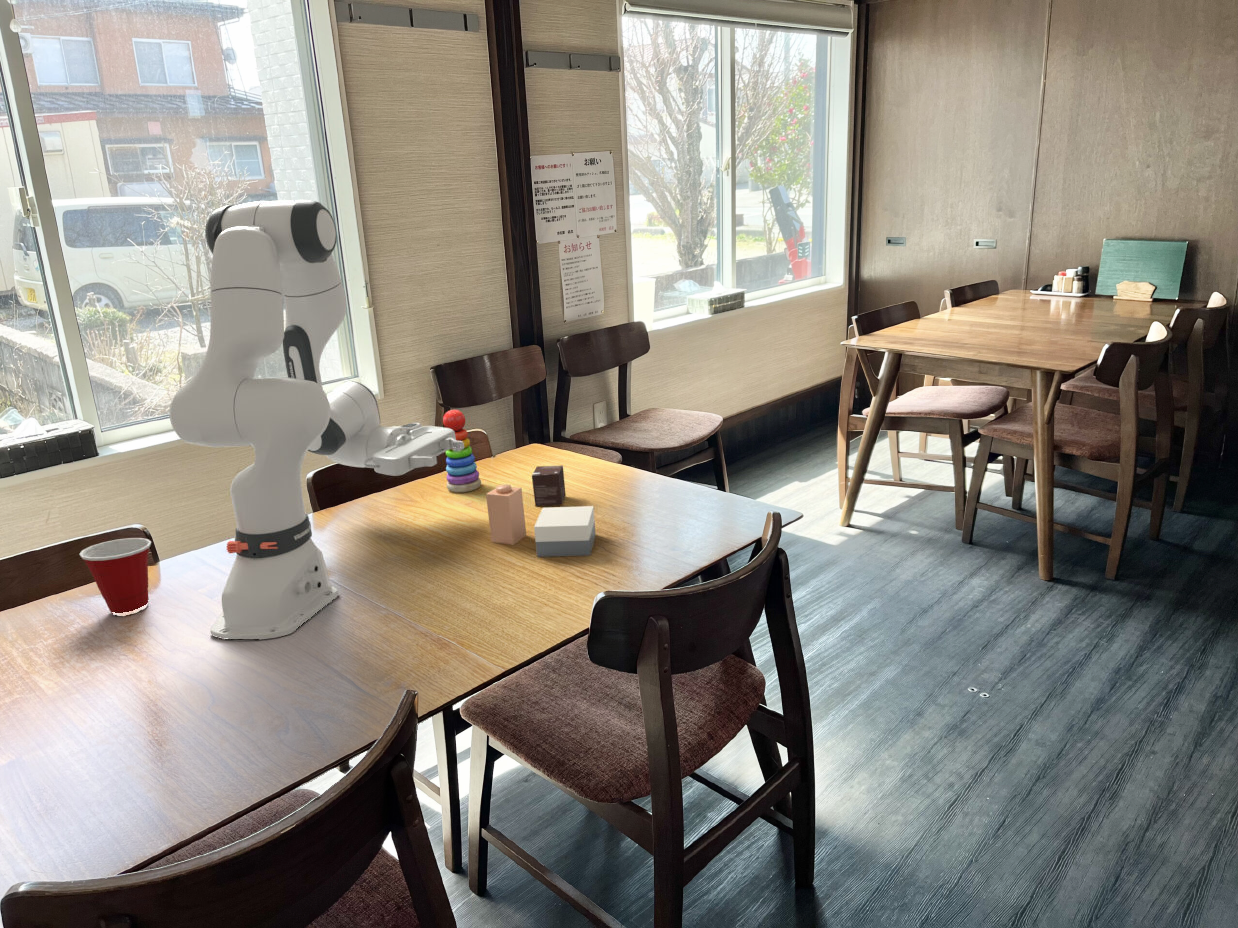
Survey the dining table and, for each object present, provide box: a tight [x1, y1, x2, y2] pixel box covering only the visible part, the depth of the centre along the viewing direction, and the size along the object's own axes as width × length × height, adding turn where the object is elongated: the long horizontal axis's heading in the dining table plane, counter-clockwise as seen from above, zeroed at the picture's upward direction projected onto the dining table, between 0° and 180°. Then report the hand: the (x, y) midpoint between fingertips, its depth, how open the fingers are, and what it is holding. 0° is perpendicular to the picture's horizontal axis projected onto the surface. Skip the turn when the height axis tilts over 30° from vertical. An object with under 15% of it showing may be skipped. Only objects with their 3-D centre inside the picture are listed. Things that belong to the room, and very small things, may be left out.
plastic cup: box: [79, 537, 152, 613], centre depth 155 cm, size 11×11×12 cm
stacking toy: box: [442, 409, 482, 493], centre depth 205 cm, size 8×8×19 cm
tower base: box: [533, 505, 597, 558], centre depth 170 cm, size 10×10×6 cm
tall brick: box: [485, 484, 527, 546], centre depth 175 cm, size 5×5×11 cm
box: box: [531, 465, 567, 507], centre depth 195 cm, size 6×6×7 cm
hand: (448, 453), depth 177 cm, fingers open, 8 cm apart
